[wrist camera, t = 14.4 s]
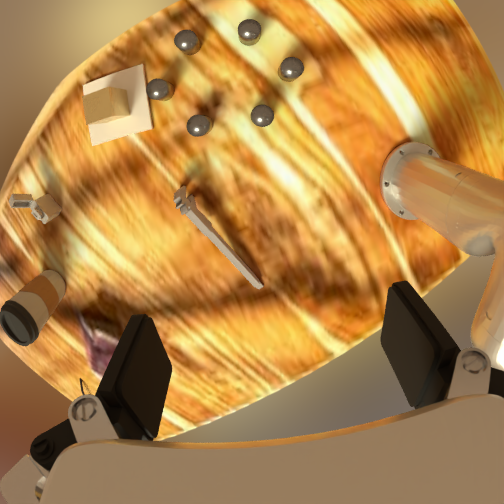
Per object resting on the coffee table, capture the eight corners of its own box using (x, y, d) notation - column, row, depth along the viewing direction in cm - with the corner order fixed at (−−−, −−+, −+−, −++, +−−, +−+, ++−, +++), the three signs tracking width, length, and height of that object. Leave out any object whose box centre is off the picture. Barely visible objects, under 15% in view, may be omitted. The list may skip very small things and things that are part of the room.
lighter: (62, 209, 41) (35, 225, 34) (58, 215, 42) (31, 233, 34) (38, 181, 39) (9, 194, 32) (34, 188, 39) (6, 202, 32)
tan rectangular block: (126, 89, 33) (108, 86, 28) (130, 115, 35) (112, 115, 30) (102, 97, 34) (82, 96, 28) (106, 122, 35) (86, 124, 30)
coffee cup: (46, 299, 49) (9, 344, 36) (34, 263, 45) (-10, 305, 32) (75, 301, 49) (40, 352, 36) (63, 263, 46) (19, 310, 32)
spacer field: (290, 25, 31) (295, 16, 27) (305, 122, 37) (311, 122, 33) (149, 48, 31) (139, 41, 28) (163, 143, 38) (154, 145, 34)
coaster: (143, 64, 32) (142, 63, 32) (153, 128, 37) (151, 128, 36) (84, 85, 33) (82, 85, 32) (94, 145, 37) (92, 146, 37)
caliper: (179, 188, 41) (168, 200, 35) (184, 183, 41) (174, 194, 35) (258, 287, 48) (259, 310, 43) (264, 284, 48) (266, 307, 42)
